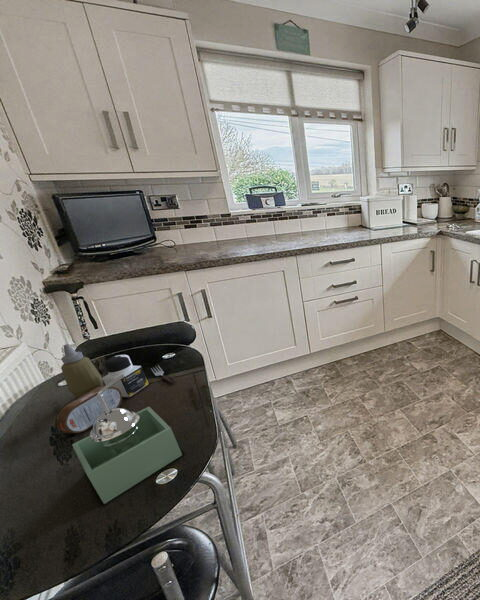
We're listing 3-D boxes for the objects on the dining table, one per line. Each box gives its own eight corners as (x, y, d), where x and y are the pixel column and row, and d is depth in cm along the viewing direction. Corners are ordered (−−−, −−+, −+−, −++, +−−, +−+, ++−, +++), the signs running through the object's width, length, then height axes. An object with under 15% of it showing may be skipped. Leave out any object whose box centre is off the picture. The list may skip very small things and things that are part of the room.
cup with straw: (108, 461, 75) (69, 389, 68) (154, 439, 81) (123, 370, 74) (110, 483, 69) (67, 407, 62) (160, 458, 75) (126, 385, 68)
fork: (168, 386, 105) (166, 381, 104) (152, 373, 114) (150, 368, 113) (177, 382, 107) (175, 377, 106) (160, 369, 116) (158, 364, 115)
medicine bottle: (129, 397, 101) (113, 364, 97) (110, 397, 102) (94, 364, 98) (149, 384, 107) (135, 352, 103) (131, 383, 109) (117, 352, 105)
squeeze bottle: (96, 399, 102) (70, 349, 95) (67, 404, 101) (39, 353, 94) (113, 384, 109) (90, 336, 103) (86, 389, 108) (61, 341, 102)
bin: (87, 471, 74) (71, 444, 72) (160, 431, 85) (148, 406, 82) (104, 504, 66) (86, 475, 63) (182, 455, 76) (170, 428, 73)
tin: (120, 402, 99) (109, 379, 96) (128, 403, 98) (117, 379, 95) (64, 440, 85) (48, 414, 82) (73, 441, 85) (58, 414, 82)
